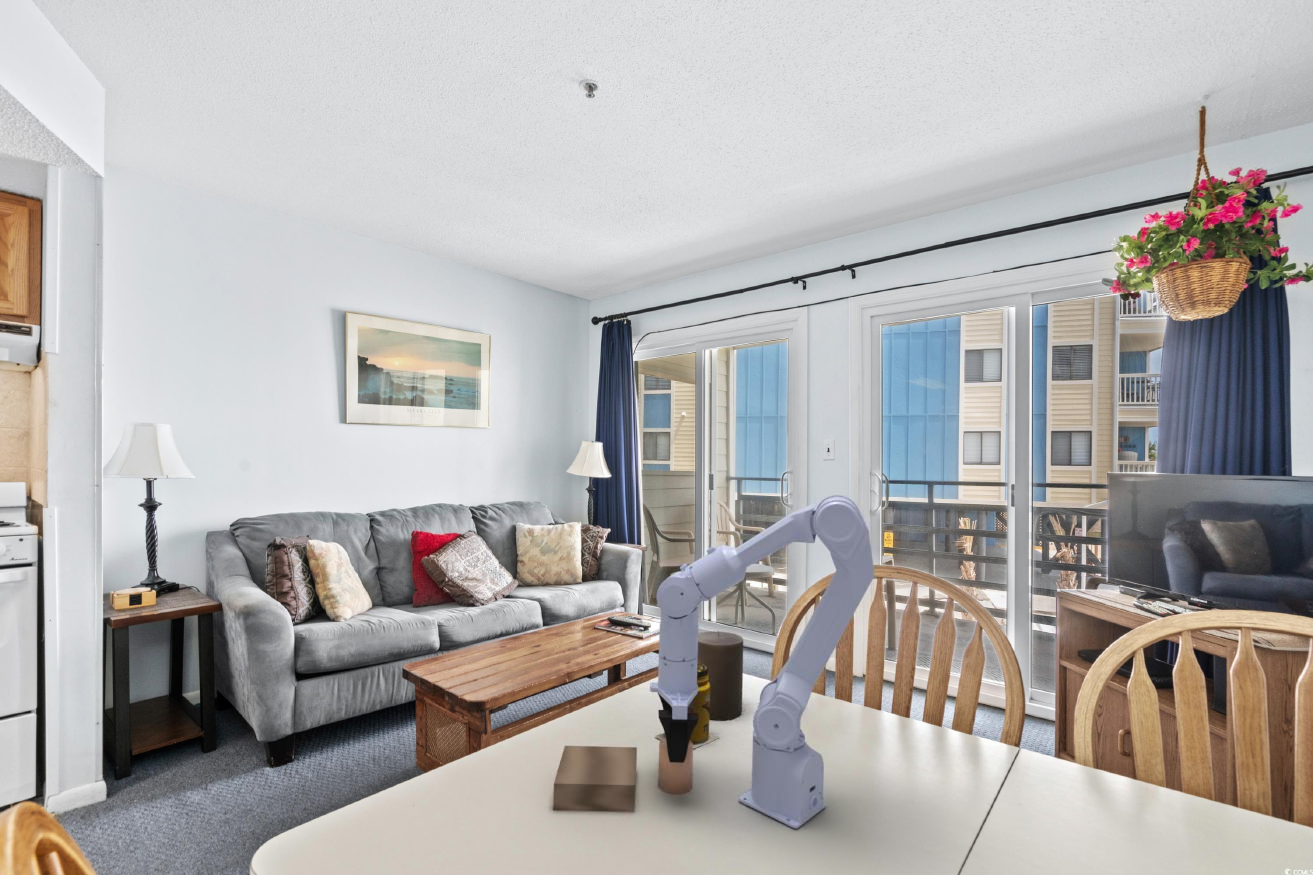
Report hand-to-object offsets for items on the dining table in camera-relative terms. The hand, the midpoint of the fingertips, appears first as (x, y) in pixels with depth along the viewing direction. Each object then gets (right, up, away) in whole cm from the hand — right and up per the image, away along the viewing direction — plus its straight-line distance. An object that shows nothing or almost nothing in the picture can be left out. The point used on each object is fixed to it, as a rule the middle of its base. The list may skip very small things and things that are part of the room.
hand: (675, 748), depth 94 cm
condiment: (+2, -6, +16) cm, 17 cm away
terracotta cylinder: (0, -5, 0) cm, 5 cm away
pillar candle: (+9, -6, +28) cm, 30 cm away
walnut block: (-11, -5, -2) cm, 13 cm away
